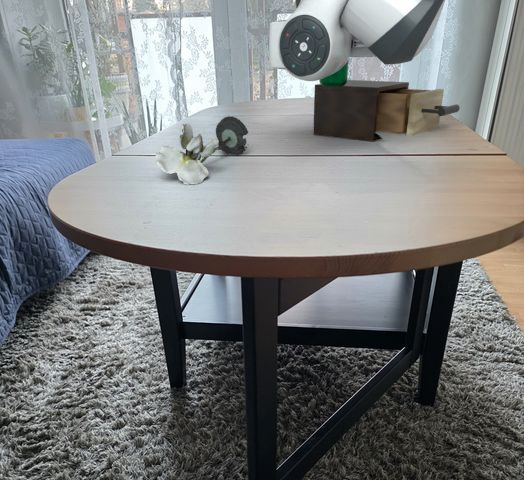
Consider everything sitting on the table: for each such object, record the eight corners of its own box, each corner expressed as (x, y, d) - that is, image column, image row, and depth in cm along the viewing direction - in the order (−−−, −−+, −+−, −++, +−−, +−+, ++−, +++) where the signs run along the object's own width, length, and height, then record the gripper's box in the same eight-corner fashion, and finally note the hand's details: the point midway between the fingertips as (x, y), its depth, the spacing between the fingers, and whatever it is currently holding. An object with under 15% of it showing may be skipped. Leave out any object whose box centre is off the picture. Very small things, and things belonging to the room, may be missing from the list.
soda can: (315, 84, 94) (317, 7, 88) (341, 83, 95) (345, 7, 89) (324, 87, 90) (327, 5, 84) (351, 85, 91) (356, 5, 85)
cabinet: (403, 132, 108) (409, 82, 103) (372, 141, 100) (377, 87, 95) (345, 127, 117) (348, 79, 112) (313, 134, 109) (314, 84, 104)
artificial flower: (258, 163, 92) (268, 106, 85) (191, 211, 77) (196, 147, 70) (216, 146, 94) (222, 89, 87) (142, 190, 78) (142, 125, 71)
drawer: (460, 134, 100) (467, 90, 96) (434, 142, 93) (441, 95, 89) (379, 126, 111) (383, 86, 106) (350, 133, 103) (353, 91, 99)
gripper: (394, 18, 75) (397, 20, 86) (260, 22, 79) (280, 23, 91) (389, 67, 78) (393, 62, 89) (261, 68, 83) (280, 64, 94)
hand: (335, 43), depth 90 cm, fingers closed on soda can, 5 cm apart
